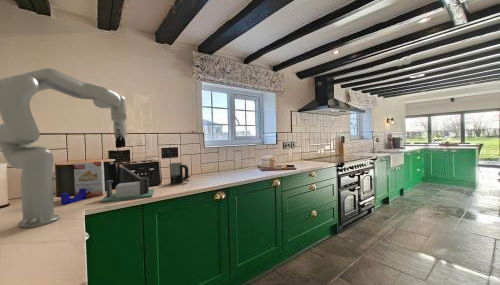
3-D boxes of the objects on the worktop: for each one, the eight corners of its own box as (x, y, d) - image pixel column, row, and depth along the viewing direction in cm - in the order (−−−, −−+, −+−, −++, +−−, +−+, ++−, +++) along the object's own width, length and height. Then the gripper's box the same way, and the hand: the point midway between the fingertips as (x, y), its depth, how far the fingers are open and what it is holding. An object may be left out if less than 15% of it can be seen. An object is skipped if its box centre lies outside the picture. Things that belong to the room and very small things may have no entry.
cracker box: (75, 198, 132) (73, 163, 132) (78, 196, 138) (76, 162, 137) (103, 195, 137) (101, 161, 137) (105, 193, 143) (103, 160, 142)
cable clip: (80, 198, 132) (79, 188, 132) (86, 198, 132) (85, 188, 131) (59, 204, 121) (58, 193, 121) (66, 205, 120) (65, 193, 120)
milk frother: (169, 184, 163) (168, 164, 163) (172, 180, 179) (171, 162, 178) (189, 183, 166) (188, 163, 166) (190, 179, 182) (189, 160, 181)
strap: (143, 181, 137) (144, 179, 137) (142, 181, 134) (144, 180, 134) (119, 165, 133) (120, 164, 133) (118, 166, 130) (119, 164, 130)
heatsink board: (151, 197, 129) (150, 179, 129) (100, 203, 120) (99, 184, 120) (153, 190, 146) (152, 174, 146) (109, 195, 137) (108, 178, 137)
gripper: (123, 116, 124) (125, 147, 124) (128, 118, 140) (130, 146, 141) (107, 116, 121) (109, 148, 122) (114, 119, 137) (116, 147, 138)
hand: (120, 147), depth 131 cm, fingers open, 9 cm apart
